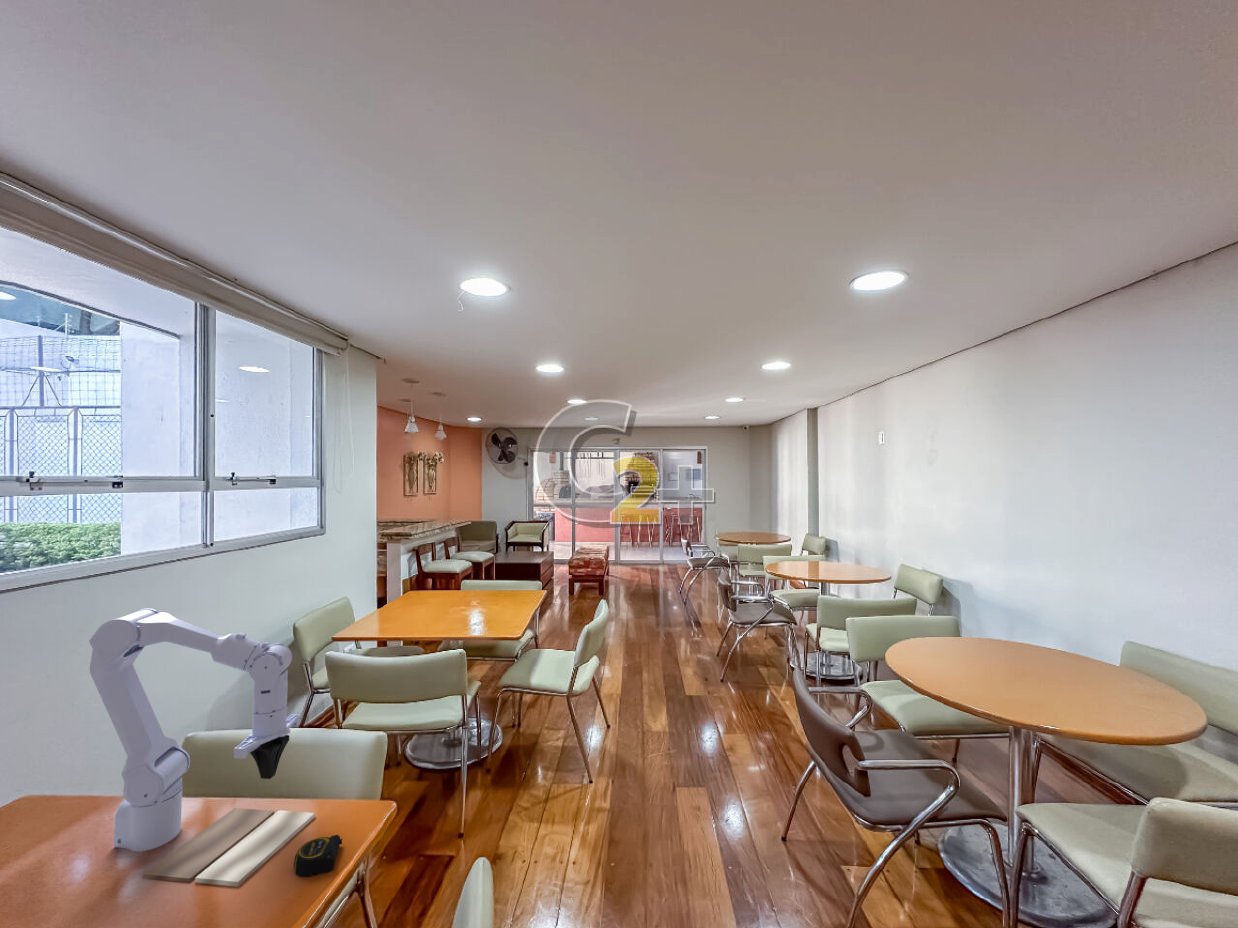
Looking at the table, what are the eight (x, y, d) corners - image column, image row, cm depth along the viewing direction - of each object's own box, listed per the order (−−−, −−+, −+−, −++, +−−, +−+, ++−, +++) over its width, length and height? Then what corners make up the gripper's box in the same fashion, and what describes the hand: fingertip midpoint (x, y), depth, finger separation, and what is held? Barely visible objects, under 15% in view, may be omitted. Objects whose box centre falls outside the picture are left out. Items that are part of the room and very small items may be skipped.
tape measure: (333, 878, 87) (334, 856, 87) (287, 887, 85) (288, 865, 85) (342, 851, 93) (342, 830, 94) (300, 859, 91) (300, 838, 91)
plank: (192, 886, 85) (192, 877, 85) (276, 817, 102) (276, 809, 103) (237, 891, 84) (238, 881, 84) (314, 820, 102) (314, 812, 102)
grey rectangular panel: (142, 882, 86) (143, 873, 86) (234, 815, 104) (234, 807, 104) (189, 887, 85) (189, 878, 85) (274, 818, 103) (274, 810, 103)
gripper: (258, 725, 94) (256, 800, 93) (313, 694, 109) (312, 758, 108) (224, 723, 95) (221, 797, 94) (284, 693, 109) (282, 756, 109)
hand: (267, 776), depth 101 cm, fingers closed
